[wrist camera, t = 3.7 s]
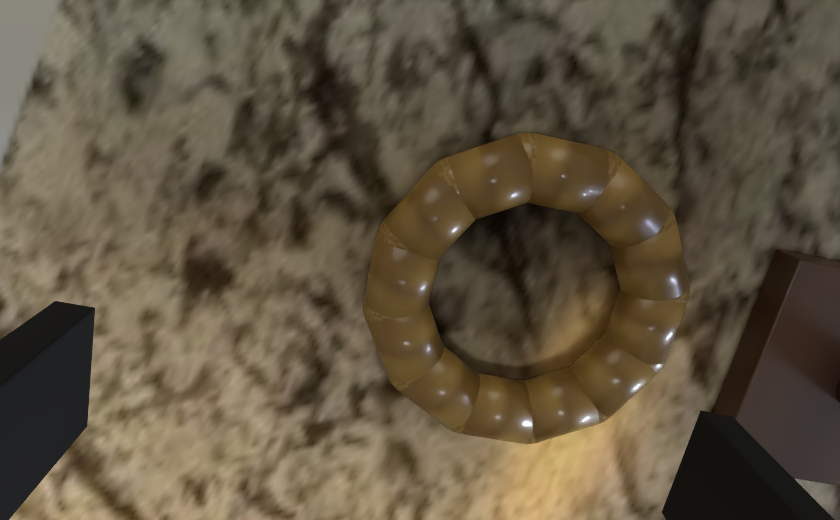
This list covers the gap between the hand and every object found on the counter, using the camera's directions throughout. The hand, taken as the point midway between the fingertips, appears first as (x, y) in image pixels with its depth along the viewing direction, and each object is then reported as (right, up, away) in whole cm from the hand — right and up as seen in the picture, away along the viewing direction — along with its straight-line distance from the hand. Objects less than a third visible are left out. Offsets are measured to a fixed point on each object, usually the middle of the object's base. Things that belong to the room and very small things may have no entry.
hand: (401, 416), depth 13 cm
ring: (+4, +2, +10) cm, 11 cm away
